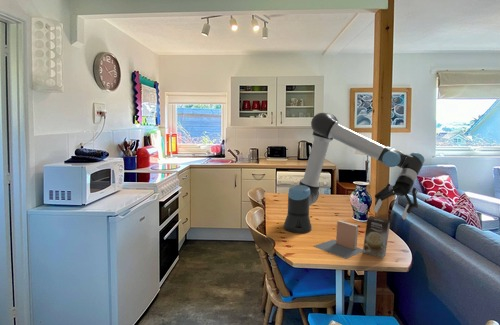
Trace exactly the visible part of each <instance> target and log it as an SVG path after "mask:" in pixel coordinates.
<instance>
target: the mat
mask: <svg viewBox="0 0 500 325" xmlns="http://www.w3.org/2000/svg"><path fill="white" fill-rule="evenodd" d="M312 247H314V248H317V249H319V250H322V251H324V252H327V253H330V254H332V255H335V256H338V257H340V258H343V259H345V260H346V259H349V258H351V257H354V256H357V255H359V254H361V253H363V248H360V247H357V249H351V248H348V247H346V246H343V245H340V244H337V243H336V239H330V240H328V241H324V242H321V243H319V244H315V245H313V246H312Z"/></svg>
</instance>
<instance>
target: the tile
mask: <svg viewBox="0 0 500 325" xmlns="http://www.w3.org/2000/svg"><path fill="white" fill-rule="evenodd" d="M358 231H359V225H357V224H354V223H351V222H346V221H343V220H337V223H336V234H335V235H336V237H335V238H336V239H335V240H336V243H337V244H340V245H343V246H346V247H348V248H351V249H357V248H358V247H357V246H358V235H359V234H358Z"/></svg>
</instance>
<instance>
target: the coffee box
mask: <svg viewBox="0 0 500 325" xmlns="http://www.w3.org/2000/svg"><path fill="white" fill-rule="evenodd" d="M390 225H391V220H390V219H385V218H382V217H376V216H373V215H369V217H368V218H367V220H366V225H365V226H366V227H365V234H364V235H365V236H364V241H363V248H362V249H363V252H362V253H363V254H367V255H370V256H373V257H374V256H375V257H378V258H381V259H383V258H385V256H386V253H387V245H388V239H389V232H390Z"/></svg>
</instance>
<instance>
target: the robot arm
mask: <svg viewBox="0 0 500 325" xmlns="http://www.w3.org/2000/svg"><path fill="white" fill-rule="evenodd" d="M310 125H311V126H310V127H311V129H312V130H313V131H312V137H313V141H312V145H311V149H310V153H309V157H308V160H307V165H306V168H305V172H304V176H303V178H301V179H299V180H300V181H299V184H297V185H292V186H290V187H289V188H288V193H287V215H286V218H285V220H284V223H283V229H284V230H285V231H287V232H291V233H295V234H296V233H297V234H303V233H304V234H305V233H310V232H311V231H312V223H311V219H310V218H311V217H310V206H311V205H313V204H314V203H316V202H317V201H318V199H319V196H320V183H319V181H320V176H321V173H322V170H323V165H324V162H325V158H326V155H327V151H328V148H329V145H330V142H332V141H333V140H335V141H338V142H340V143H342V144H344V145H346V146H347V147H350V148H352V149H353V150H356V151H358V152H360V153H362V154H364V155H366V156H368V157H370V158H373V159H374V160H377V161H378V162H380V163H382V164H383V165H385V166H386V167H387V168H388V167H389V168H394V167H398V168H400V169H402V170H401V171H400V172H399V175H398V176H397V179H396V181H395V183H394V185H392V184H390V183H388V184H386V185H385V187H384V188H383V189H381V190H380V191H379V192H378V193H376V194H375V195H374V198H375V200H376V201H375V203H374V205H375V206H374V207H373V211H374V212H375V213H376V214H377V213H378V212H379V210H380V208H381V206H382V203H383V201H384V200H387V199H389V198H390V197H392V196H393V197H394V196H400V197H405V199H406V201H407V203H408V204H406V206H405V208H404V209H403V212H402V214H401V218H402V219H403V220H406V219H407V216H408V215H409V214H411V212H412V210H413V208H416V209H418V208H419V203H418V196H417V193H418V191H417V188H416V187H413V186H414V183H415V182H416V180H417V177H418V175H419V173H420V172H421V170H422V168H423V165H424V162H425V157H424V155H422V154H421V153H419V152H411V153H410V154H407V153H405V152H403V151H401V150H398V149H396V148H394V147H390V146H385V145H383V144H380V143H379V142H377V141H375V140H373V139H370V138H368V137H366V136H364V135H362V134H359V133H357V132H356V131H354V130H352V129H350V128H347V127H345V126H343V125H341V124H339V120H338V118H337V117H336V116H335V115H333V114H331V113H330V112H329V113H328V112H319V113H316V114H314V116H313V117H312V119H311V121H310ZM409 193H411V194H412V200H413V203H412V200H411V199H410V197H409V195H408V194H409Z"/></svg>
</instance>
